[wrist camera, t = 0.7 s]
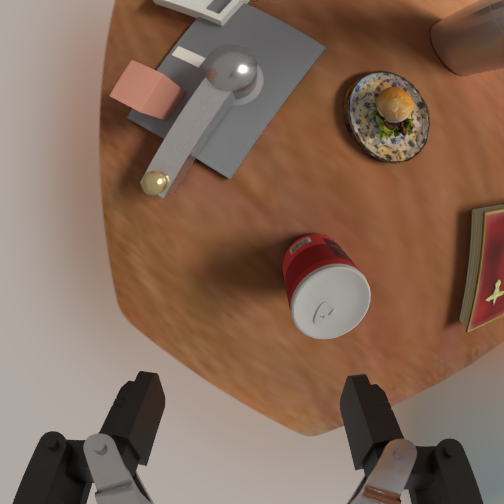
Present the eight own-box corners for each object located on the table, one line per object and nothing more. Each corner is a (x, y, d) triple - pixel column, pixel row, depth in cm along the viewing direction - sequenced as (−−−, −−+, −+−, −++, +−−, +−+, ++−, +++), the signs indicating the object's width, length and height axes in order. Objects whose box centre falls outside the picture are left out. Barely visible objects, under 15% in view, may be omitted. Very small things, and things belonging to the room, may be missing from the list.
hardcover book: (509, 200, 31) (525, 205, 27) (495, 304, 38) (507, 314, 34) (468, 206, 32) (485, 213, 28) (455, 321, 39) (467, 333, 35)
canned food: (274, 283, 36) (281, 334, 26) (291, 224, 33) (306, 257, 23) (329, 294, 36) (352, 344, 26) (348, 239, 34) (383, 275, 23)
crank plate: (221, -3, 23) (220, -7, 22) (324, 50, 26) (326, 47, 25) (130, 118, 29) (126, 117, 28) (230, 178, 32) (229, 179, 30)
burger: (369, 176, 31) (396, 184, 24) (324, 91, 28) (342, 75, 21) (435, 142, 29) (469, 144, 22) (398, 63, 26) (427, 48, 19)
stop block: (159, 78, 26) (131, 59, 19) (186, 92, 27) (164, 74, 20) (141, 106, 28) (109, 96, 20) (167, 121, 28) (140, 112, 21)
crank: (228, 53, 25) (222, 34, 20) (265, 73, 26) (267, 57, 21) (147, 176, 30) (127, 181, 25) (182, 198, 31) (167, 207, 26)
